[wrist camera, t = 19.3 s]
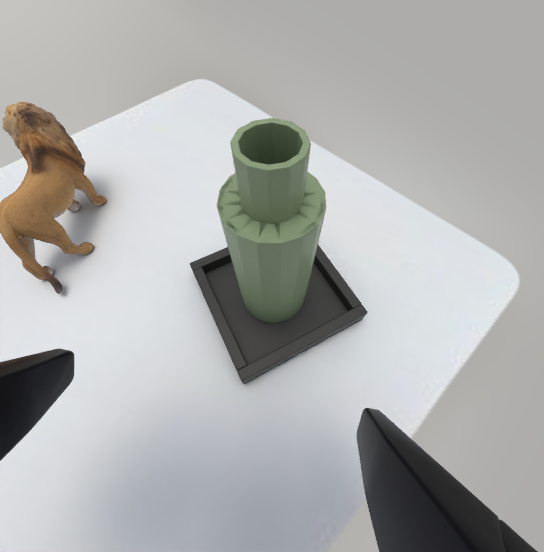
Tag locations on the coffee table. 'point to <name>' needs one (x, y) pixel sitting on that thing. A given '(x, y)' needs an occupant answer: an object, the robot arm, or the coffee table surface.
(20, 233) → the lion figurine
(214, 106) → the coffee table surface
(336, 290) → the tray
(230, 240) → the vase
